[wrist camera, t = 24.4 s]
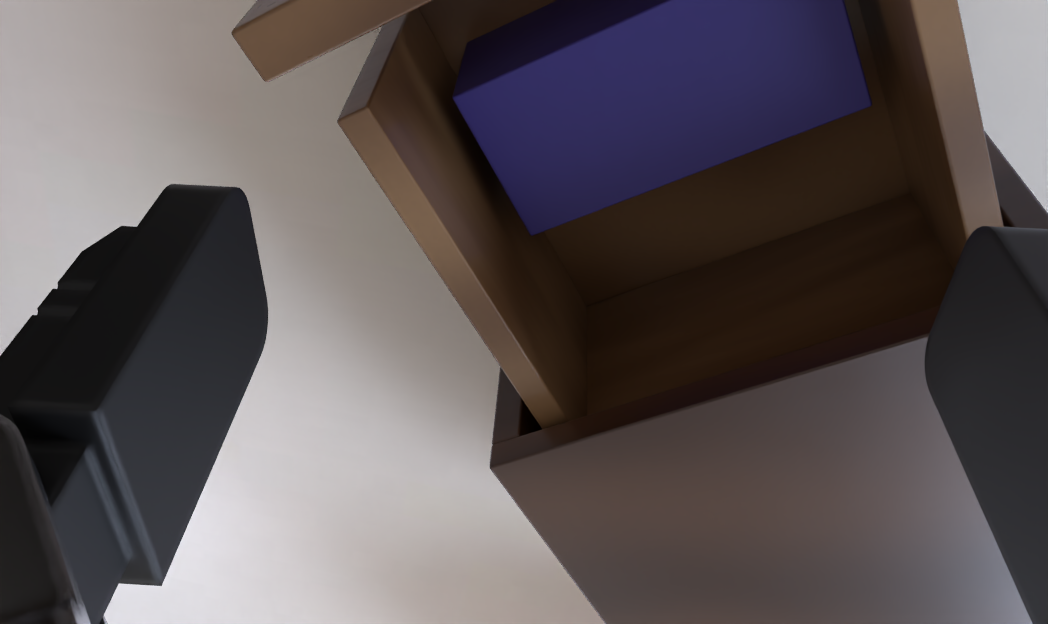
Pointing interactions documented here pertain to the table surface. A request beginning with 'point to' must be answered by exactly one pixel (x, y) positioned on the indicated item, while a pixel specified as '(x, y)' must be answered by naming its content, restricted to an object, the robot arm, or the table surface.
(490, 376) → the table surface
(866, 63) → the drawer
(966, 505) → the cabinet
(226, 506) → the table surface
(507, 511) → the table surface
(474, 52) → the blue-violet rectangular block
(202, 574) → the table surface
